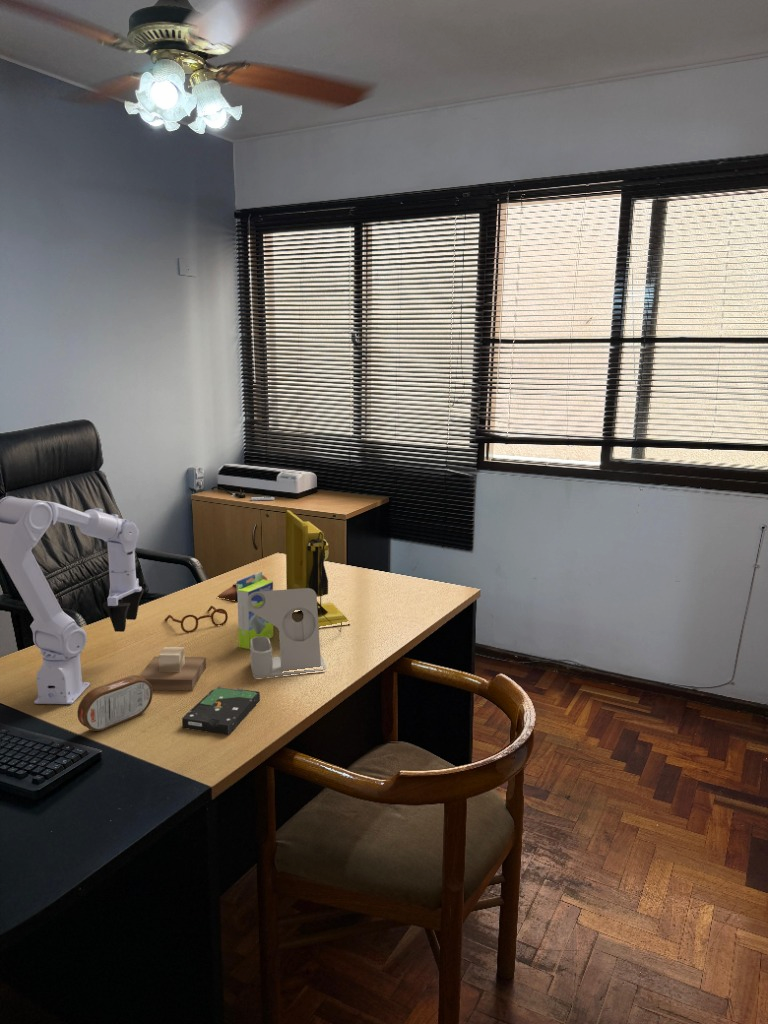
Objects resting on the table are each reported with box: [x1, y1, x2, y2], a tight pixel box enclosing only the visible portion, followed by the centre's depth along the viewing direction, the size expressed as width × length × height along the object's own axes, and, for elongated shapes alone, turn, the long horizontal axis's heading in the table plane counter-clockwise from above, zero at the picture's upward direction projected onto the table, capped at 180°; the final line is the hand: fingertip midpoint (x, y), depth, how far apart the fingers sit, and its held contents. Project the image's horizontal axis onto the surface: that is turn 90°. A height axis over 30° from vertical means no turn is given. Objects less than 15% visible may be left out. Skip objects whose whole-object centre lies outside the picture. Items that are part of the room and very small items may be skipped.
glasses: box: [164, 605, 229, 634], centre depth 194 cm, size 13×13×5 cm
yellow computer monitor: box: [285, 509, 349, 633], centre depth 194 cm, size 31×14×30 cm, turn 22°
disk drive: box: [181, 686, 261, 736], centre depth 144 cm, size 10×3×15 cm
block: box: [158, 646, 186, 672], centre depth 158 cm, size 4×4×4 cm
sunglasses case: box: [216, 574, 268, 602], centre depth 220 cm, size 18×7×7 cm
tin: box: [76, 674, 154, 732], centre depth 139 cm, size 15×3×8 cm, turn 141°
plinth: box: [139, 656, 207, 691], centre depth 159 cm, size 12×12×2 cm
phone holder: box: [247, 588, 328, 679], centre depth 165 cm, size 17×10×18 cm, turn 105°
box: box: [236, 571, 274, 650], centre depth 179 cm, size 10×4×17 cm, turn 152°
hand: (125, 625), depth 165 cm, fingers open, 7 cm apart
